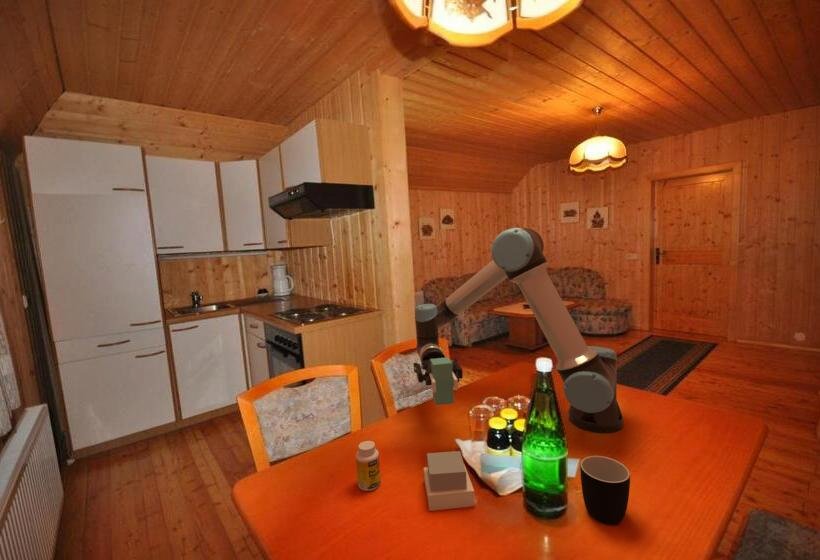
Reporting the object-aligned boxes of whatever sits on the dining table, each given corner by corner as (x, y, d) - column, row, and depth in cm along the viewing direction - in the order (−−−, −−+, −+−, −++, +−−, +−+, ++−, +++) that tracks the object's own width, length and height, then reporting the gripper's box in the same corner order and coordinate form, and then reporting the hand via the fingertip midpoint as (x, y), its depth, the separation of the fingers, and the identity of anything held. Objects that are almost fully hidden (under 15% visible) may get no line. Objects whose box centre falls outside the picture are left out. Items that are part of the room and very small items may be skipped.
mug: (639, 529, 72) (640, 480, 71) (594, 533, 72) (594, 484, 71) (605, 488, 84) (605, 446, 83) (566, 491, 84) (566, 449, 83)
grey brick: (460, 466, 89) (460, 451, 89) (466, 488, 81) (466, 471, 81) (427, 469, 89) (426, 453, 89) (430, 491, 81) (429, 474, 81)
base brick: (464, 478, 91) (464, 463, 90) (474, 507, 81) (474, 490, 80) (424, 482, 90) (423, 467, 90) (429, 512, 80) (428, 495, 80)
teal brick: (450, 395, 103) (448, 357, 102) (454, 403, 98) (451, 363, 97) (432, 397, 102) (430, 359, 101) (435, 405, 97) (433, 364, 96)
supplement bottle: (370, 495, 86) (367, 454, 85) (353, 487, 89) (350, 447, 88) (385, 482, 91) (382, 442, 90) (368, 474, 94) (365, 436, 93)
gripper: (461, 367, 118) (480, 396, 95) (405, 372, 117) (411, 403, 94) (459, 344, 118) (479, 368, 95) (403, 349, 116) (409, 375, 93)
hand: (445, 386), depth 94 cm, fingers closed on teal brick, 5 cm apart
